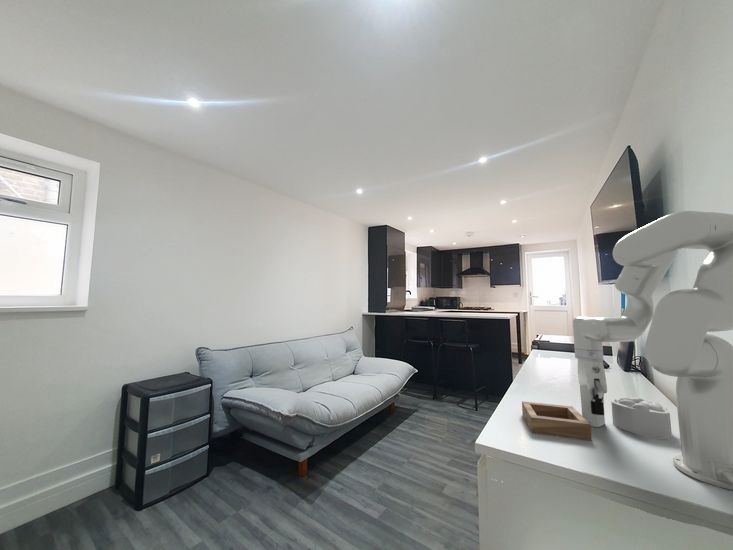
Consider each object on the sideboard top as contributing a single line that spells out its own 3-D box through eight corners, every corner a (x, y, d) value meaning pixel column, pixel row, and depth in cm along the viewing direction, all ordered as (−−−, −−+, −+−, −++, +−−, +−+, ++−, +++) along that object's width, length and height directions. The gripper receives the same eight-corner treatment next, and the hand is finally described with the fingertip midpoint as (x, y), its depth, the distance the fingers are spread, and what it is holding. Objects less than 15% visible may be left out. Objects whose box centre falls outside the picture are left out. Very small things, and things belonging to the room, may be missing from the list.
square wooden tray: (591, 440, 81) (590, 424, 82) (531, 432, 86) (531, 417, 87) (573, 420, 95) (572, 406, 96) (522, 414, 100) (521, 401, 101)
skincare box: (598, 428, 90) (595, 388, 91) (581, 423, 93) (579, 384, 95) (605, 423, 93) (602, 385, 94) (589, 419, 97) (586, 382, 98)
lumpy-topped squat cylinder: (674, 441, 81) (671, 410, 82) (613, 429, 89) (611, 400, 90) (667, 429, 89) (664, 400, 90) (612, 418, 97) (610, 392, 98)
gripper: (615, 360, 86) (620, 422, 84) (591, 351, 102) (595, 402, 101) (585, 358, 88) (589, 418, 87) (566, 349, 105) (570, 400, 103)
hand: (592, 409), depth 94 cm, fingers closed on skincare box, 7 cm apart
